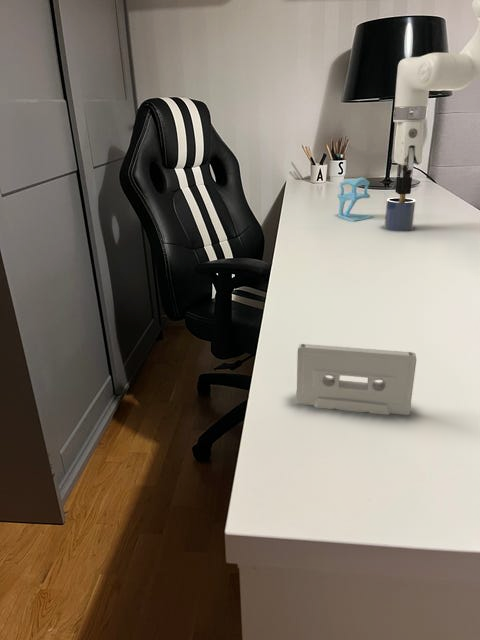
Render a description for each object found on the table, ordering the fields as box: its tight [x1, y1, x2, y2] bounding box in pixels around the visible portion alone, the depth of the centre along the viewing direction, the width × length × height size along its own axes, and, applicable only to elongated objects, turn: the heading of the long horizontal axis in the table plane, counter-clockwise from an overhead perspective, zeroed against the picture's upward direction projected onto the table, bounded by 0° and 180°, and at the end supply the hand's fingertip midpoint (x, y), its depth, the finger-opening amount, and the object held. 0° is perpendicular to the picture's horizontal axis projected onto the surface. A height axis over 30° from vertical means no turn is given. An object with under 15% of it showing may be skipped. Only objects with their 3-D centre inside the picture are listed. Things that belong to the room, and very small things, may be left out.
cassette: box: [295, 343, 417, 416], centre depth 53 cm, size 12×2×8 cm, turn 77°
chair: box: [337, 177, 372, 222], centre depth 144 cm, size 8×8×12 cm
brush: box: [398, 194, 407, 202], centre depth 128 cm, size 2×2×13 cm
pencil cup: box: [383, 197, 416, 232], centre depth 130 cm, size 7×7×8 cm
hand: (402, 192), depth 127 cm, fingers closed on brush, 1 cm apart
